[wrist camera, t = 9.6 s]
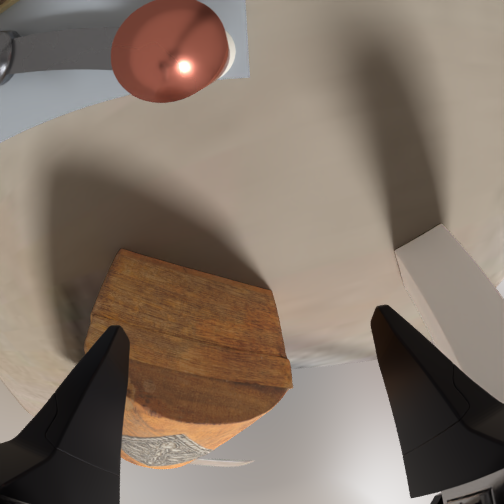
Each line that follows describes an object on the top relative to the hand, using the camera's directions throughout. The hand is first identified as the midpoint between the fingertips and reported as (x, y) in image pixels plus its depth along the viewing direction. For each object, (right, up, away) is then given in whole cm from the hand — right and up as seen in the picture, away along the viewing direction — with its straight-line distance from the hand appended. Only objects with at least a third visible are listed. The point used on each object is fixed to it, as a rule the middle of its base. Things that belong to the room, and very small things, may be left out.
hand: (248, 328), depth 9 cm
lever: (-12, +15, +1) cm, 19 cm away
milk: (+18, +2, +16) cm, 24 cm away
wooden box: (-11, -10, +24) cm, 28 cm away
